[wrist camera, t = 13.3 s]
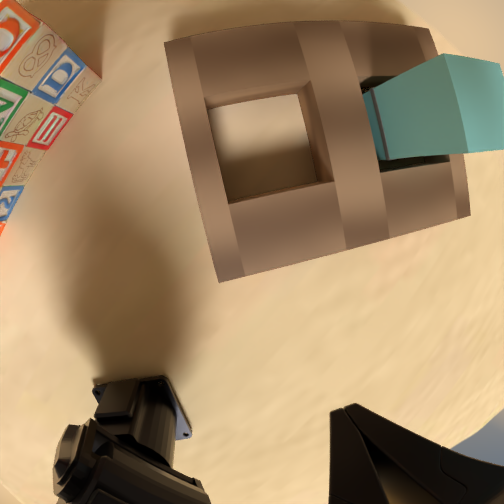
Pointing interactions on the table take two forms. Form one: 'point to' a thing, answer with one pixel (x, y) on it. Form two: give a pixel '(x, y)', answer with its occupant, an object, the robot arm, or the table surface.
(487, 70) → the teal peg
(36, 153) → the stack of blocks
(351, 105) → the walnut board
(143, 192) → the table surface
